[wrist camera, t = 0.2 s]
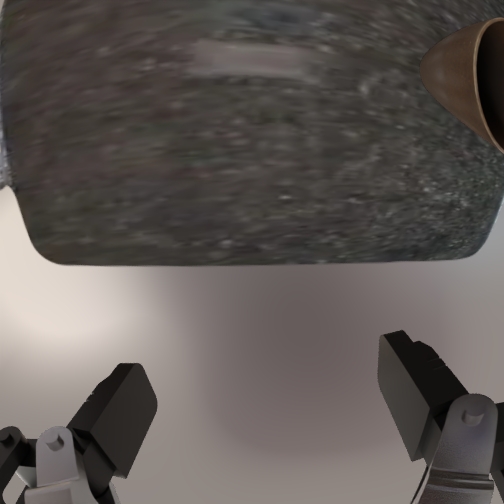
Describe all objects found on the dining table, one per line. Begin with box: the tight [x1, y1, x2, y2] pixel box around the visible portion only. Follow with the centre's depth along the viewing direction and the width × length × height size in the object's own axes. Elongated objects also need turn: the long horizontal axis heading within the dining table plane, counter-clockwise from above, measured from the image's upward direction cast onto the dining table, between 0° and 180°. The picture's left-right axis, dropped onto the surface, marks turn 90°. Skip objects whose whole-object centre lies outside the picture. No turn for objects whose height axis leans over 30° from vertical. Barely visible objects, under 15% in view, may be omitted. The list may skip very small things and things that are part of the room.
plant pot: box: [420, 18, 504, 153], centre depth 21 cm, size 15×15×16 cm
